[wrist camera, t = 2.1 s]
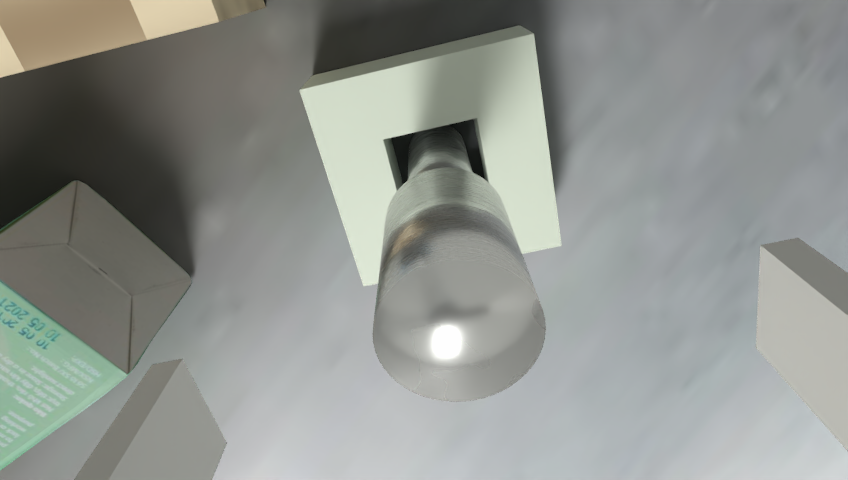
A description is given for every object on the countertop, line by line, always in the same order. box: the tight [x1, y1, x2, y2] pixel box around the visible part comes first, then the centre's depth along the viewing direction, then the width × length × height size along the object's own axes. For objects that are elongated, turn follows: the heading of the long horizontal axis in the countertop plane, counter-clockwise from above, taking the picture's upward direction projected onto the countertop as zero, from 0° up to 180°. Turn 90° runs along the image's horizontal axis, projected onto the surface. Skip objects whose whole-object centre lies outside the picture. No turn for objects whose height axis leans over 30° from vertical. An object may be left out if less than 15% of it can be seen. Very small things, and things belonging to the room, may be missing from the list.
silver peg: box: [373, 125, 546, 402], centre depth 19 cm, size 4×4×14 cm
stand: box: [300, 25, 562, 286], centre depth 24 cm, size 9×9×3 cm
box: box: [0, 180, 192, 470], centre depth 25 cm, size 7×14×8 cm, turn 128°
